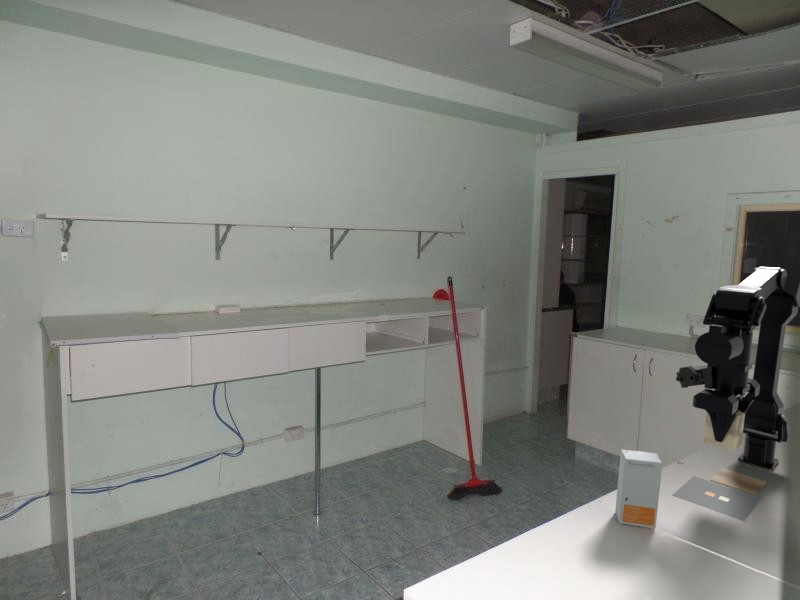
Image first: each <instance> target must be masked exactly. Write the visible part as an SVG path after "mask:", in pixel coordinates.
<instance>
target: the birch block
mask: <svg viewBox="0 0 800 600" xmlns="http://www.w3.org/2000/svg"><path fill="white" fill-rule="evenodd" d="M705 415H706V416H705V424H704V425H705V426H704V432H703V433H704V434H703V441H702V442H703V444H707V445H710V446H714V447H716V448H717V447H719V448H721V449H724V450H729V451H733V452H734V451H736V450H737V449H738V448H739V447H740V446H741V445H742V443H743V435H744V433H743V427H744V418H745V413H743V412H739V414H738V416H737V417H736V419H735V421H734V423H733V424H732V426H731V428H730V430H729V431H728V433H727V435H726V436H725V438H724V440H723V441H722V442H718V441H716V440H715V437H714V433H713V428H712V424H711V419H710V416H709V414H708V412H707V411H706V413H705Z"/></svg>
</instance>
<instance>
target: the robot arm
mask: <svg viewBox="0 0 800 600" xmlns="http://www.w3.org/2000/svg"><path fill="white" fill-rule="evenodd" d="M799 308H800V281H798V280H797V279H796V278H794V277H793V276H790V275H789V274H788V273H787V270H786V269H785V268H782V267H773V266H771V267H770V266H759V267H755V268H754V270H753V273H752V274H750V275H749V276H747V277H746V278H745V279H744V280H743V281H742V282H740V283H739V284H736V285H735V284H733V285H725V286H721V287H719V288H718V289H717V290H716V292H714V293H713V294H712V296H711V300H710V302H709V304H708V307H707V309H706V312H705V315H704V318H703V321H702V324H703V325H704V326H705V325H706V326H709V329H708V331H707V332H705V333H702V334H701V335H700V336H699V337H698V338H697V339H696V342H695V344H694V351H695V353H696V356H697V357H698V359H700V360H701V361H702V362H703V363H704V364H707V365H699V366H692V365H688V366H681V367H679V370H678V371H676V377H675V380H676V381H677V382H679V385H680V386H681V387H680V388H682V389H686V388H687V389H688V388H689V387H693V386H703V385H704V386H703V387H704V389H703V390H701V391H699V392H697V393H696V394H694V395H693V399H692V407H694V408H696V409H700V410H704V411H706V412H708V414H709V416H710V419H711V424H712V428H713V433H714V437H715V440H716V441H718V442H722V441H723V440H724V438H725V436H726V435H727V433H728V431H729V430H730V428H731V426H732V424H733V423H734V421H735V419H736V417H737V416H738V414H739V412H743V413H745V418H744V427H743V434H744V444H743V452H742V453H741V454H740V455H739V456H738V457H737V461H739V462H743V463H746V464H749V465H751V466H752V465H753V466H756V467H760V468H763V469H767V470H770V469H771V470H770V471H773V469H775V467H776V465H778V464H779V462H780V459H778V458H775V456H776V448H777V443H779V444H782V443H788V441H789V433H790V431H789V423H788V421H787V417H786V415H785V414H784V410H785V405H784V403H783V401H782V399H781V397H780V396H779V393H778V385H779V378H780V373H781V372H780V371H781V364H782V357H783V349H784V343H785V335H786V329H787V325H788V324H789V323H790V322H791V321H792V320H793V319H794V318H795V317H796V316H797V314H798V311H799ZM757 327H759V333H758V339H757V347H756V353H755V361H754V368H753V362H751V356H752V344H753V336H754V335H753V333H754V332H753V331H755V330H756V328H757ZM751 369H753V376H752V378H749V375H750V374H749V373H750V370H751Z"/></svg>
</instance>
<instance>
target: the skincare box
mask: <svg viewBox="0 0 800 600" xmlns="http://www.w3.org/2000/svg"><path fill="white" fill-rule="evenodd" d="M662 469H663V462H662V461H661V458H660V457H659V455H658V453H656V452H649V451H648V452H647V451H641V450H630V449H629V450H628V449H620V456H619V467H618V478H617V488H616V489H617V491H616V498H615V500H616V501H615V514H616V517H617V521H618V524H622V525H629V526H635V527H636V526H637V527H642V528H648V529H652V528H653V530H655V529H656V526H657V519H658V508H659V501H660V500H659V499H660V498H659V497H660V489H661V481H662V480H661V479H662Z"/></svg>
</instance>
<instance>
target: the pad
mask: <svg viewBox="0 0 800 600" xmlns="http://www.w3.org/2000/svg"><path fill="white" fill-rule="evenodd" d="M710 481H711V482H714V483H717V484H720V485H723V486H727V487H730V488H733V489H736V490H739V491H742V492H745V493H748V494H751V495H754V496H758V495H759V494H760V492H761V491H762V490H763V488H764V487H765V486H766V485H767V483H768V480H763V479H760V478H757V477H754V476H750V475H746V474H743V473H740V472H737V471H733V470H730V469H727V468H725V467H724V468H722V469H720V470H719V471H718V472H717V473H716V474H715V475H714V476H713V477H711V479H710Z"/></svg>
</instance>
